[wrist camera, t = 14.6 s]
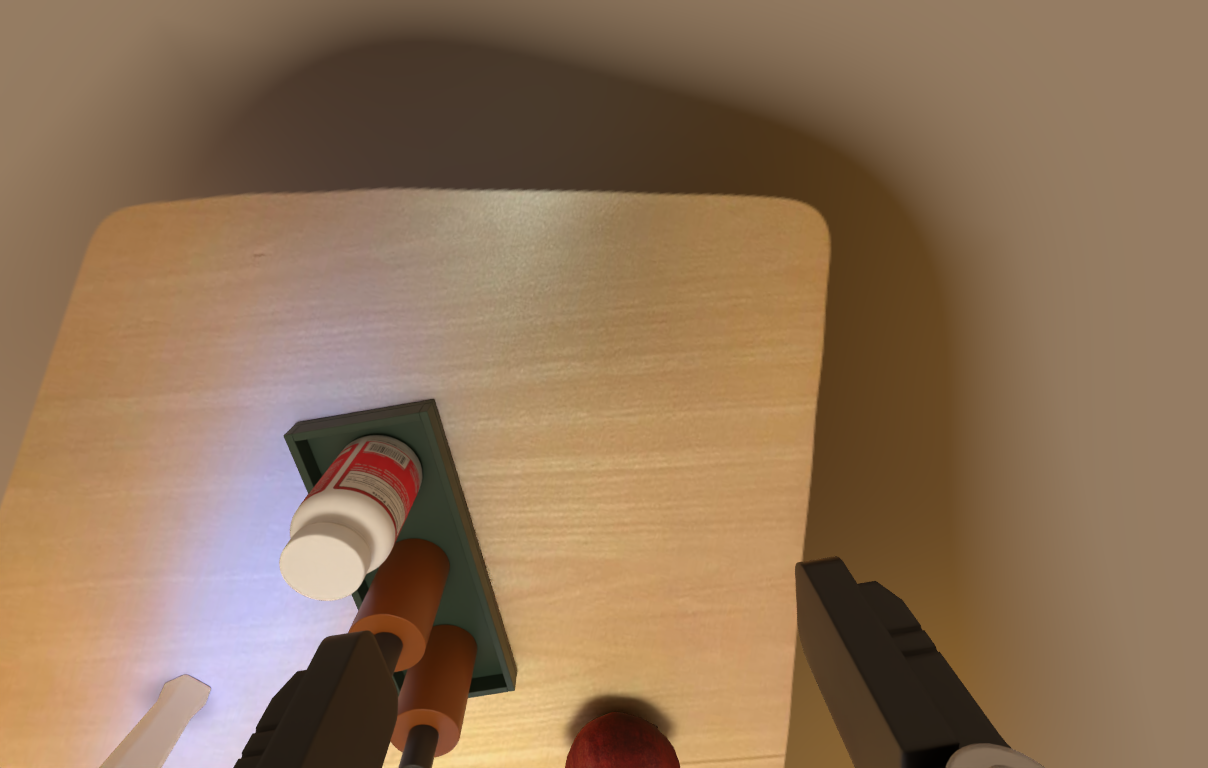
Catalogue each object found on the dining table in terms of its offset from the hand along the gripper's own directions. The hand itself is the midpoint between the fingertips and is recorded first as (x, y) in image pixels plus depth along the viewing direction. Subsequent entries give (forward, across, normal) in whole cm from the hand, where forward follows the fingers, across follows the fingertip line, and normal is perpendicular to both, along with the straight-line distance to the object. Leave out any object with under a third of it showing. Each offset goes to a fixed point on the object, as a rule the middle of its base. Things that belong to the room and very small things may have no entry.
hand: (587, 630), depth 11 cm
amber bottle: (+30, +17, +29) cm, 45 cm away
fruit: (+30, +4, +43) cm, 53 cm away
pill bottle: (+30, +17, +11) cm, 36 cm away
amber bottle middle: (+30, +17, +20) cm, 39 cm away
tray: (+30, +17, +20) cm, 40 cm away
